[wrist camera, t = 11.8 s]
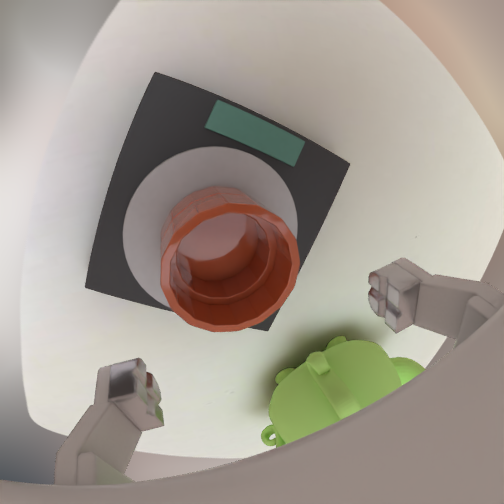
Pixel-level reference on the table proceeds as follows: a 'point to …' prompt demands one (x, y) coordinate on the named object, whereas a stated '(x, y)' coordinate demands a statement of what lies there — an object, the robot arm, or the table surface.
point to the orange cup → (226, 260)
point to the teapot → (333, 387)
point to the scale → (202, 181)
